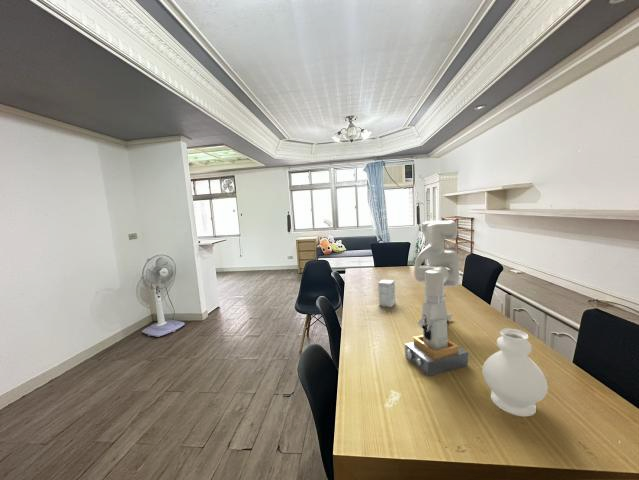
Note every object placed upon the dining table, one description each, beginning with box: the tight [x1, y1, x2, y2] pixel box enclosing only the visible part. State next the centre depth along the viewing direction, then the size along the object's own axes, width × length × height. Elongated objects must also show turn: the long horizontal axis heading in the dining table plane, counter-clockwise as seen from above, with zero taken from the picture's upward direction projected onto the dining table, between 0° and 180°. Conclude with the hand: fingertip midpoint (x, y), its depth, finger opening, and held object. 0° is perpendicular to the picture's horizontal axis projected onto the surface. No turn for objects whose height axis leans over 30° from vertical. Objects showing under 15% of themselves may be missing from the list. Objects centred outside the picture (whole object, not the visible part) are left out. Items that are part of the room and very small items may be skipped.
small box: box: [422, 319, 448, 350], centre depth 117 cm, size 8×6×13 cm
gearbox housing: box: [404, 334, 469, 377], centre depth 117 cm, size 21×16×9 cm
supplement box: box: [377, 279, 397, 308], centre depth 187 cm, size 10×9×17 cm
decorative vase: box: [481, 328, 548, 417], centre depth 90 cm, size 18×18×25 cm
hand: (434, 336), depth 117 cm, fingers open, 7 cm apart
